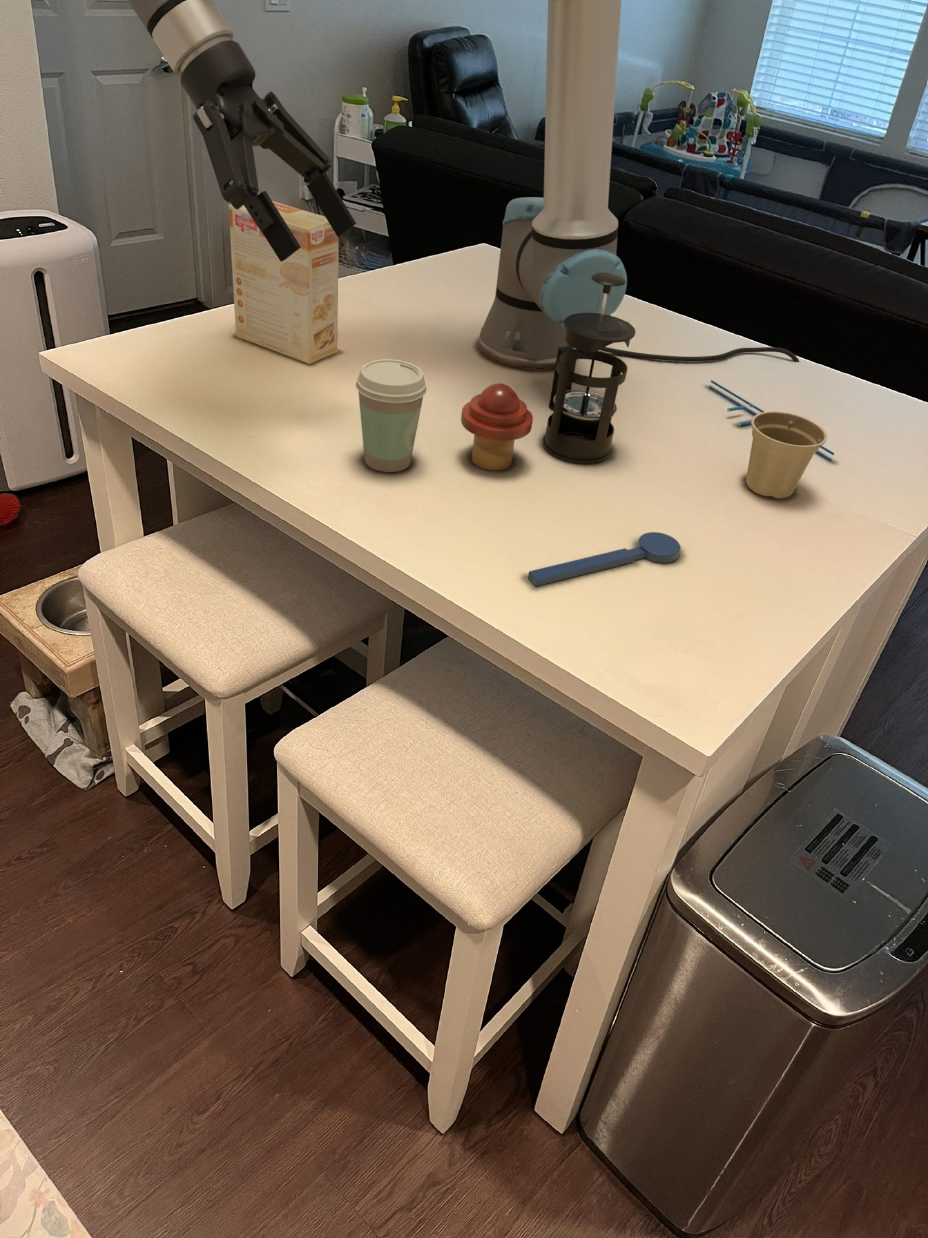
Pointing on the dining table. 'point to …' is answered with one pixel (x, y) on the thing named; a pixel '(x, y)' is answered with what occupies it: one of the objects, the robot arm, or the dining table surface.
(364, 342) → the dining table surface
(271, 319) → the coffeecake box
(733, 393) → the chopsticks
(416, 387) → the coffee cup
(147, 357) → the dining table surface
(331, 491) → the dining table surface
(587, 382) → the french press
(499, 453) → the mushroom
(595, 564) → the spoon
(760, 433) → the flower pot
